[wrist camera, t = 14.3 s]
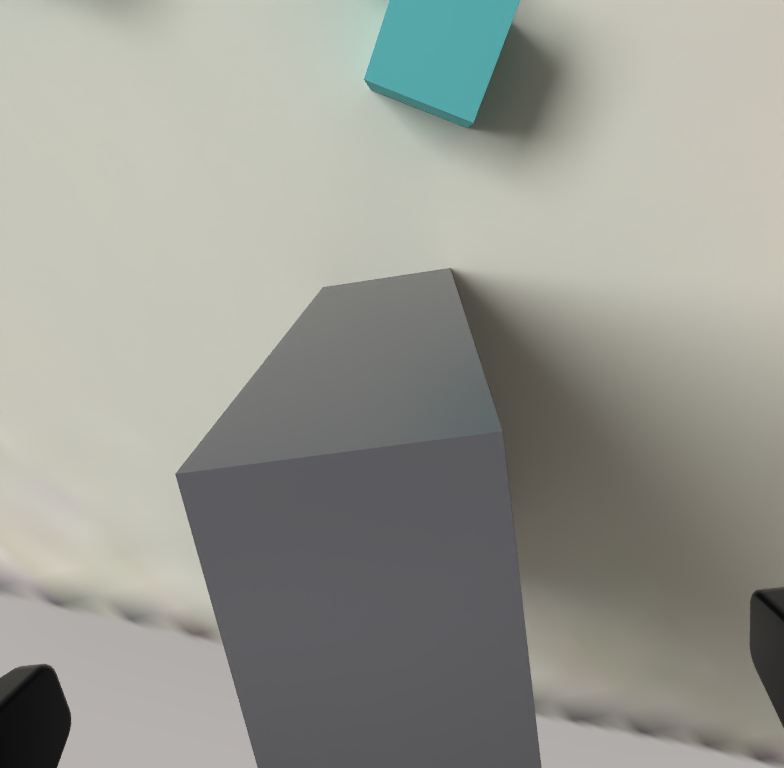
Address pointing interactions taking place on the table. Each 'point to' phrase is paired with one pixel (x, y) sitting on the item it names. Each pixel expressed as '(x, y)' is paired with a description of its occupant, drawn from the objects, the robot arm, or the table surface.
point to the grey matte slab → (368, 541)
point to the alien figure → (440, 54)
